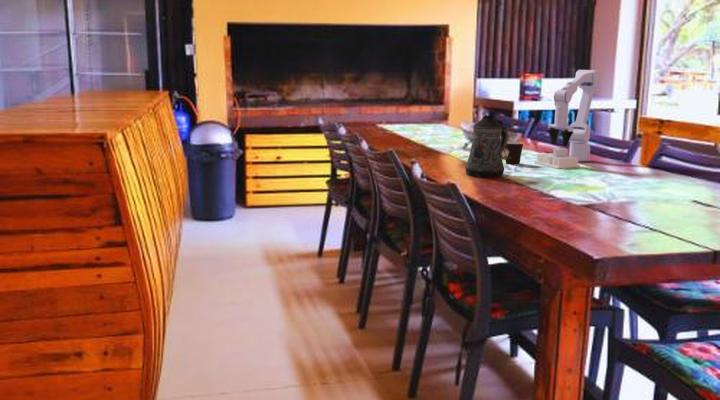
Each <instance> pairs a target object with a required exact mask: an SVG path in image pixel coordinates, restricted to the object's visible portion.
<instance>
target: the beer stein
mask: <svg viewBox="0 0 720 400" xmlns="http://www.w3.org/2000/svg"><path fill="white" fill-rule="evenodd" d="M472 129H473V130H472V131H473V137H472V142H471V147H470V152H469V156H468V157H467V162H466V164H465V166H464V167H465V174H466V176H468V177H472V178H482V179H492V178H494V179H495V178H496V179H497V178H501V177H503V176H504V172H505V166H504V162H503V158H502V152H503V150H504V148H505V146H506V144H507V142H509V141H508V140H509V132H508V129H507V127H506V126H505V125H504V122H503V121H502V120H500V119H498V118H495V116H494V115H484V116H483V117H482V118H481V119H480V120H479V121H477V123H475V124H474V125H473V126H472ZM500 136H501V139H500Z"/></svg>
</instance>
